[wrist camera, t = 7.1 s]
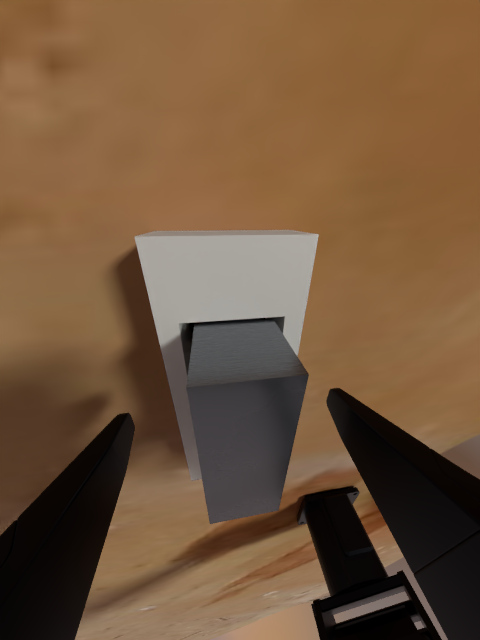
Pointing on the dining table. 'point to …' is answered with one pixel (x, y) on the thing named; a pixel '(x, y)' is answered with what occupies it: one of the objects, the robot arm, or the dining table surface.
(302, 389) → the dark grey blocky piece
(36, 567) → the robot arm
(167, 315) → the rail
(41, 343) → the dining table surface
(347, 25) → the dining table surface
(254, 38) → the dining table surface
